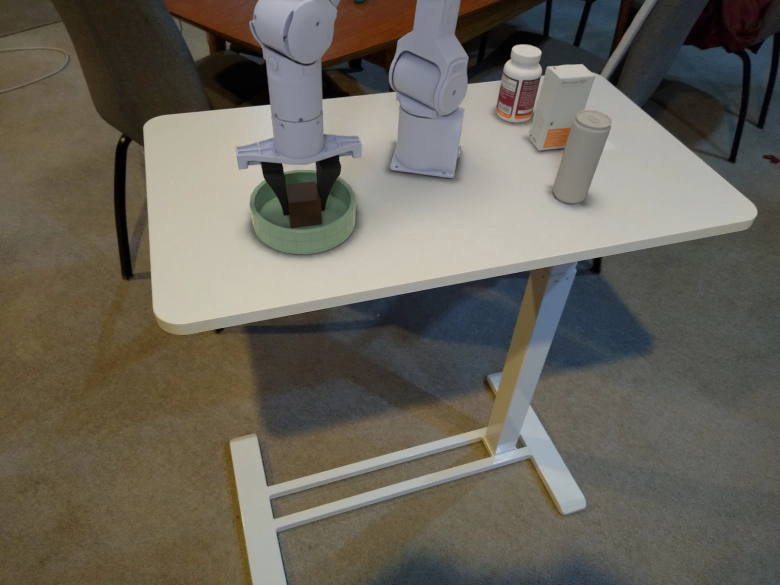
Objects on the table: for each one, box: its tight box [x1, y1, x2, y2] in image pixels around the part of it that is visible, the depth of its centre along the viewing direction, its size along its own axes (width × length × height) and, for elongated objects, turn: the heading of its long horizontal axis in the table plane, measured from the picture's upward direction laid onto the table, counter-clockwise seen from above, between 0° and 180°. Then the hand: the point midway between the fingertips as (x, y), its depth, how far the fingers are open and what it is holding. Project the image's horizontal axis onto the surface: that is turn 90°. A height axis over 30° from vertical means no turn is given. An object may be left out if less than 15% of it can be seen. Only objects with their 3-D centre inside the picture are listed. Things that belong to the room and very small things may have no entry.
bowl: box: [248, 169, 357, 255], centre depth 73 cm, size 13×13×4 cm
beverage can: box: [552, 109, 613, 204], centre depth 78 cm, size 5×5×12 cm
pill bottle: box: [495, 44, 543, 123], centre depth 94 cm, size 6×6×11 cm
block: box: [286, 181, 322, 228], centre depth 73 cm, size 4×4×4 cm
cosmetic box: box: [528, 63, 596, 152], centre depth 87 cm, size 6×4×12 cm
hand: (303, 208), depth 73 cm, fingers closed on block, 4 cm apart
